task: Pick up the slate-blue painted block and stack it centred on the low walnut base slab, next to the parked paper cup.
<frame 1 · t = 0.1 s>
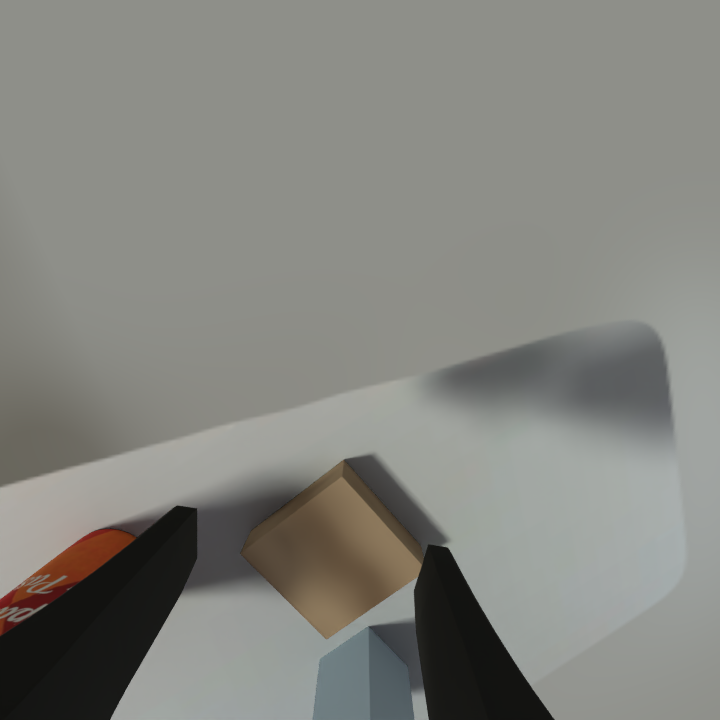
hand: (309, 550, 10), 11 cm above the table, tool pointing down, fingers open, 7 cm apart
block: (363, 662, 24), on the table
base: (336, 538, 22), on the table
paper cup: (115, 562, 23), on the table
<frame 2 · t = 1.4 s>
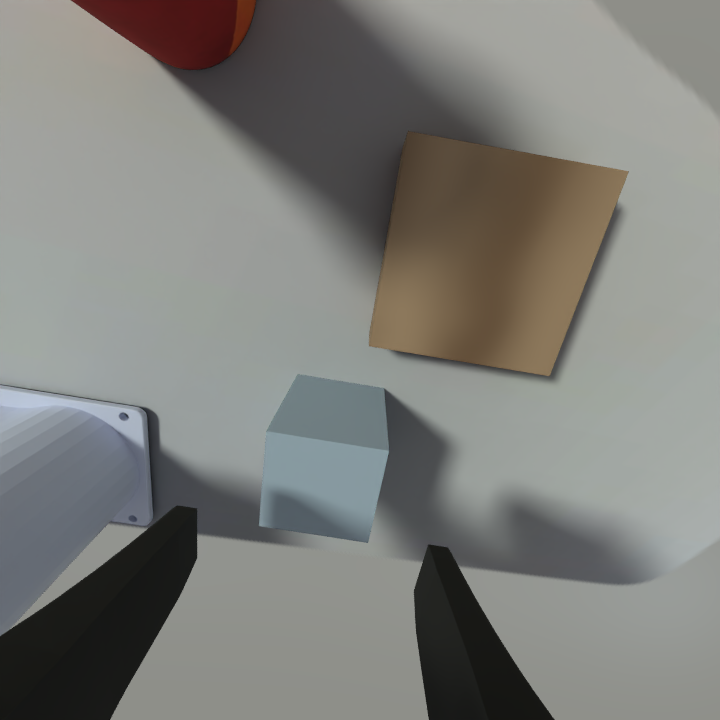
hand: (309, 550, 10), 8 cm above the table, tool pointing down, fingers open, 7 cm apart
block: (335, 418, 18), on the table
base: (472, 263, 15), on the table
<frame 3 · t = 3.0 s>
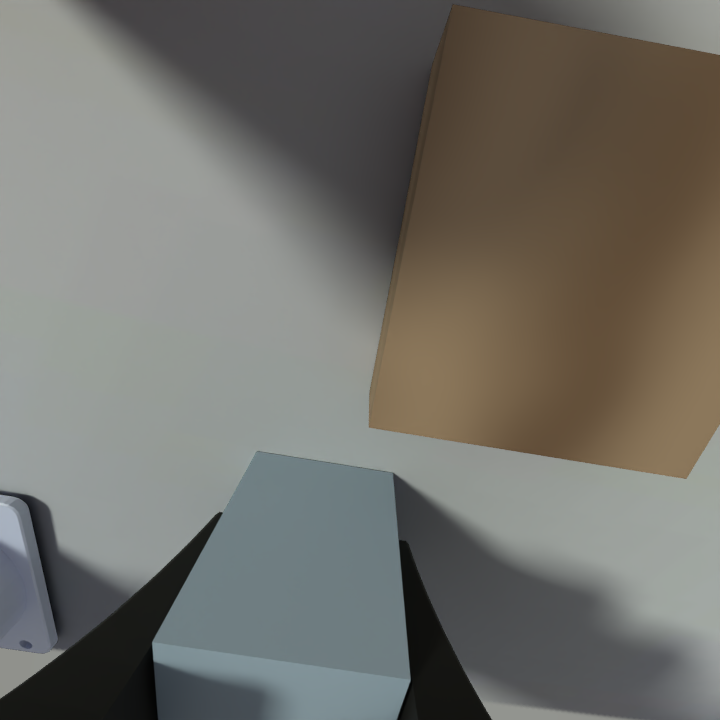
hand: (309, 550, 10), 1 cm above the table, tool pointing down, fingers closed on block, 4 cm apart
block: (316, 515, 12), on the table, touching gripper
base: (546, 280, 9), on the table
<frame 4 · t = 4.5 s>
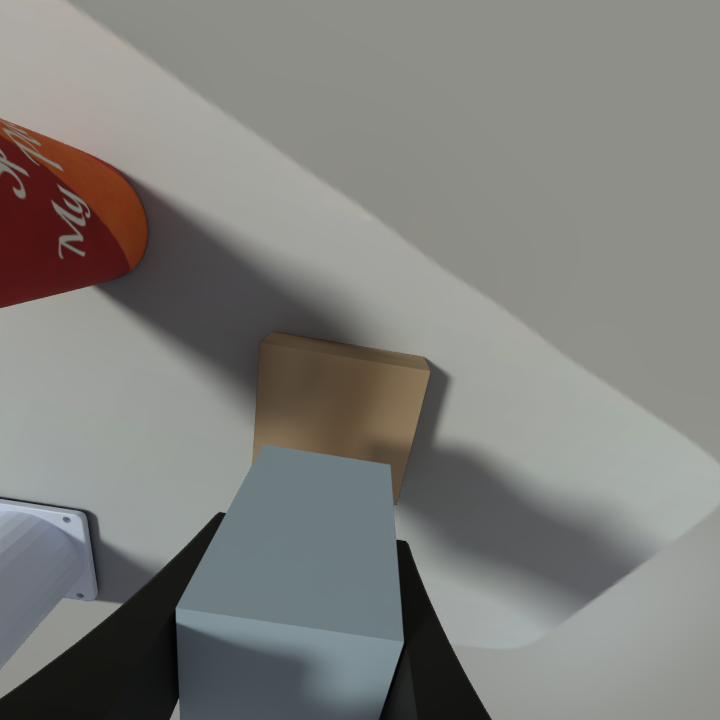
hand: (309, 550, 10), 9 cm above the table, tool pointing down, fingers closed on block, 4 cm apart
block: (319, 504, 12), point 7 cm above the table, touching gripper
base: (337, 411, 19), on the table
paper cup: (92, 219, 16), on the table
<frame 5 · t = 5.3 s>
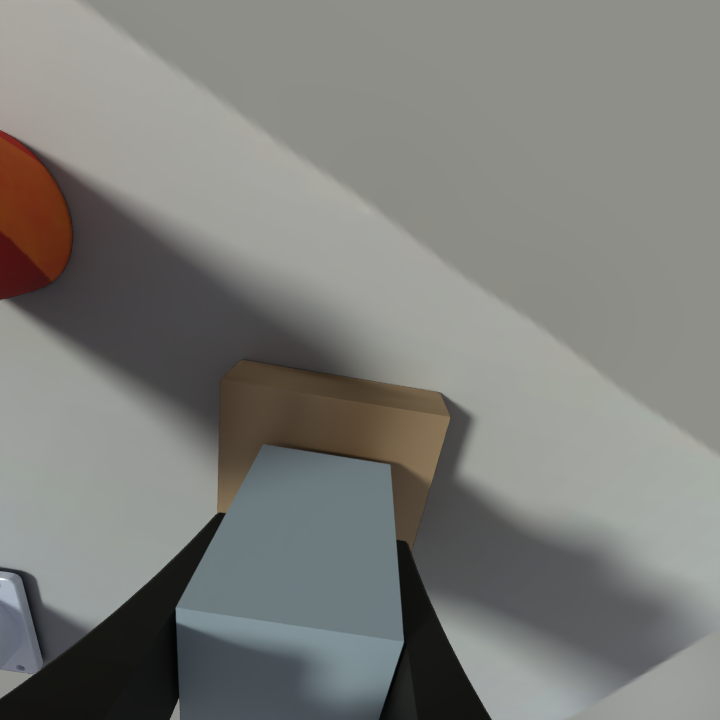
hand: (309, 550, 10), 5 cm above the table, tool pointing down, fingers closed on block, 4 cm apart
block: (319, 504, 12), point 2 cm above the table, touching gripper
base: (328, 458, 15), on the table
when the fingers open (5 cm above the table, at t = 6.1 s): block stays where it is, resting on base.
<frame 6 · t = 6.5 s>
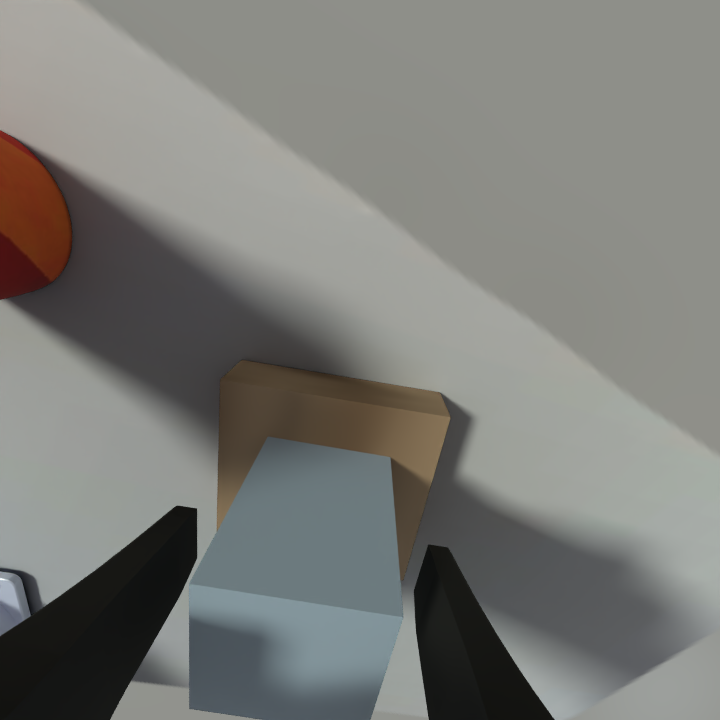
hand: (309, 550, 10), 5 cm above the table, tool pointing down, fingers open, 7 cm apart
block: (321, 495, 13), point 2 cm above the table, touching base
base: (328, 459, 15), on the table
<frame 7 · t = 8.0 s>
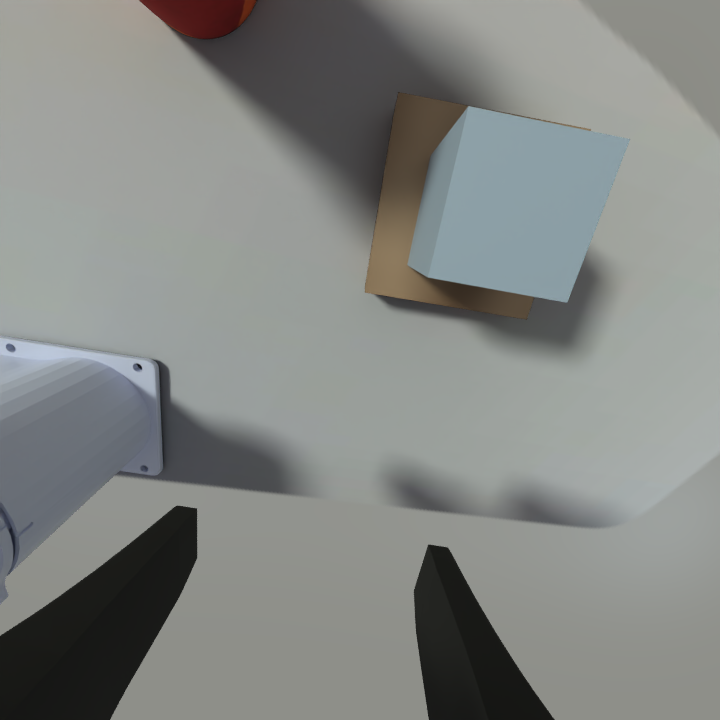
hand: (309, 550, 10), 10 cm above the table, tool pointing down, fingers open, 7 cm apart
block: (467, 222, 15), point 2 cm above the table, touching base
base: (457, 219, 17), on the table
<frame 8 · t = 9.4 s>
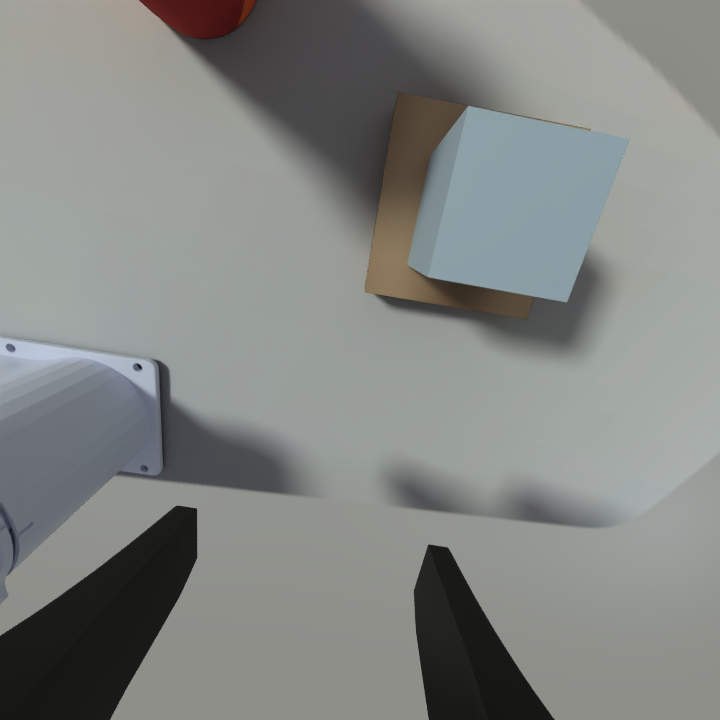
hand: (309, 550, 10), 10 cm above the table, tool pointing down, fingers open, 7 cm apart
block: (467, 222, 15), point 2 cm above the table, touching base
base: (457, 219, 17), on the table
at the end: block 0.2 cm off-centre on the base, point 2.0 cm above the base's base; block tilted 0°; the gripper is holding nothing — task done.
